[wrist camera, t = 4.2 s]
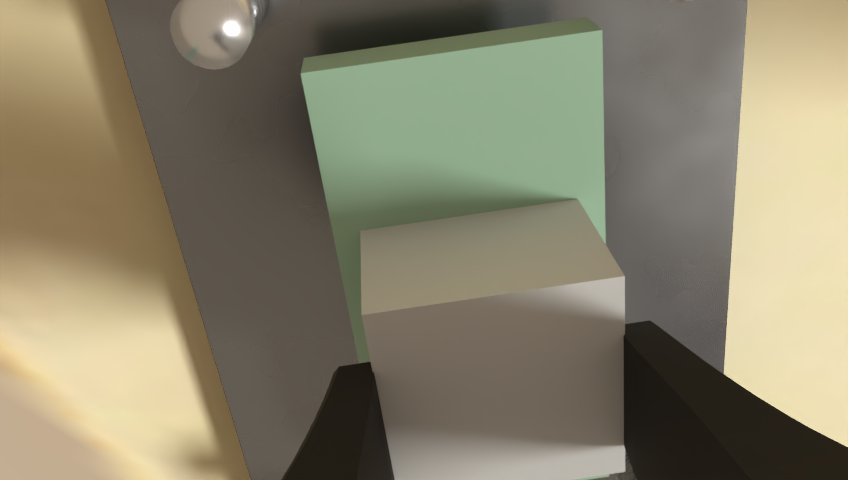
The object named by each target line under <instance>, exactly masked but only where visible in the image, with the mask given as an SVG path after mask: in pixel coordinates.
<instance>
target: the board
mask: <svg viewBox="0 0 848 480" xmlns="http://www.w3.org/2000/svg"><path fill="white" fill-rule="evenodd" d="M300 74H301V79H302V84H303V88H304V93H305V98H306V103H307V108H308V113H309V118H310V123H311V128H312V133H313V138H314V143H315V148H316V153H317V158H318V163H319V168H320V173H321V178H322V183H323V187H324V192H325V197H326V202H327V207H328V212H329V217H330V222H331V227H332V232H333V237H334V242H335V247H336V252H337V257H338V262H339V267H340V272H341V277H342V282H343V286H344V291H345V296H346V301H347V306H348V311H349V316H350V321H351V326H352V331H353V336H354V341H355V346H356V351H357V356H358V361H359V363H365V362H371V367H372V372H374V375H375V380H376V385H377V390H378V395H379V401H380V406H381V411H382V416H383V421H384V427H385V432H386V437H387V442H388V447H389V453H390V458H391V463H392V468H393V474H394V479H395V480H589V479H596V478H602V477H609V474H614V473H621V472H625V447H624V335H625V276H624V274H623V272H622V271H621V269H620V267H619V266H618V264H617V262H616V261H615V259H614V257H613V256H612V254H611V253H610V251H609V249H608V248H607V246H606V230H605V166H604V102H603V38H602V29H601V28H599V27H598V26H597V25H596V24H594V23H593V22H592V21H591V20H589V19H588V18H587V17H584V18H577V19H570V20H563V21H556V22H550V23H543V24H536V25H529V26H522V27H515V28H508V29H501V30H494V31H487V32H480V33H473V34H466V35H459V36H452V37H445V38H438V39H431V40H424V41H417V42H410V43H403V44H396V45H389V46H382V47H375V48H369V49H362V50H355V51H348V52H341V53H334V54H327V55H320V56H313V57H306V58H304V60H303V64H302V69H301V73H300Z"/></svg>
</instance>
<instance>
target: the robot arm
mask: <svg viewBox="0 0 848 480" xmlns="http://www.w3.org/2000/svg"><path fill="white" fill-rule="evenodd" d="M624 447H625V450H626V453H627V455H628V458H629V461H630V464H631V467H632V469H633V472H634V475H635V477H636V479H637V480H848V447H846V446H844V445H842V444H840V443H838V442H836V441H834V440H832V439H830V438H828V437H826V436H824V435H822V434H820V433H818V432H816V431H815V430H813V429H811V428H809V427H807V426H805V425H804V424H802V423H800V422H798V421H796V420H795V419H793V418H791V417H789V416H788V415H786V414H785V413H783V412H781V411H780V410H778V409H776V408H775V407H773V406H771V405H770V404H768V403H767V402H765V401H763V400H762V399H760V398H758V397H757V396H755V395H754V394H752V393H751V392H749V391H748V390H746V389H745V388H743V387H742V386H740V385H739V384H737V383H736V382H734V381H733V380H731V379H730V378H728V377H727V376H725V375H724V374H723V373H721V372H720V371H718V370H717V369H715V368H714V367H713V366H711V365H710V364H708V363H707V362H706V361H704V360H703V359H702V358H700V357H699V356H697V355H696V354H695V353H693V352H692V351H691V350H689V349H688V348H687V347H685V346H684V345H683V344H681V343H680V342H679V341H677V340H676V339H675V338H673V337H672V336H671V335H669V334H668V333H667V332H665V331H664V330H663V329H661V328H660V327H659V326H657V325H656V324H655V323H653V322H652V321H650V320H649V321H642V322H635V323H629V324H625V335H624ZM281 480H395V479H394V474H393V468H392V463H391V458H390V453H389V447H388V442H387V437H386V432H385V427H384V421H383V416H382V411H381V406H380V401H379V395H378V390H377V385H376V380H375V375H374V372H372V367H371V362H365V363H359V364H352V365H345V366H339V367H338V368H337V369H336V371H335V372H334V373H333V376H332V379H331V382H330V384H329V387H328V389H327V392H326V394H325V397H324V399H323V401H322V404H321V406H320V408H319V410H318V412H317V415H316V417H315V419H314V421H313V423H312V425H311V427H310V429H309V431H308V433H307V435H306V437H305V439H304V440H303V442H302V444H301V446H300V448H299V450H298V452H297V454H296V456H295V457H294V459H293V461H292V463H291V464H290V466H289V468H288V469H287V471H286V473H285V474H284V476H283V478H282V479H281Z"/></svg>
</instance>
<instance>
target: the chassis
mask: <svg viewBox="0 0 848 480" xmlns="http://www.w3.org/2000/svg"><path fill="white" fill-rule="evenodd" d="M106 3H107V6H108V10H109V13H110V16H111V20H112V23H113V26H114V29H115V33H116V36H117V39H118V43H119V46H120V49H121V52H122V56H123V59H124V62H125V66H126V69H127V72H128V76H129V79H130V82H131V85H132V89H133V92H134V95H135V99H136V102H137V105H138V108H139V112H140V115H141V118H142V122H143V125H144V128H145V132H146V135H147V138H148V141H149V145H150V148H151V151H152V155H153V158H154V161H155V164H156V168H157V171H158V174H159V178H160V181H161V184H162V188H163V191H164V194H165V197H166V201H167V204H168V207H169V211H170V214H171V217H172V220H173V224H174V227H175V230H176V234H177V237H178V240H179V244H180V247H181V250H182V253H183V257H184V260H185V263H186V267H187V270H188V273H189V276H190V280H191V283H192V286H193V290H194V293H195V296H196V300H197V303H198V306H199V309H200V313H201V316H202V319H203V323H204V326H205V329H206V332H207V336H208V339H209V342H210V346H211V349H212V352H213V356H214V359H215V362H216V365H217V369H218V372H219V375H220V379H221V382H222V385H223V388H224V392H225V395H226V398H227V402H228V405H229V408H230V412H231V415H232V418H233V421H234V425H235V428H236V431H237V435H238V438H239V441H240V444H241V448H242V451H243V454H244V458H245V461H246V464H247V468H248V471H249V474H250V477H251V480H281V479H282V478H283V476H284V474H285V473H286V471H287V469H288V468H289V466H290V464H291V463H292V461H293V459H294V457H295V456H296V454H297V452H298V450H299V448H300V446H301V444H302V442H303V440H304V439H305V437H306V435H307V433H308V431H309V429H310V427H311V425H312V423H313V421H314V419H315V417H316V415H317V412H318V410H319V408H320V406H321V404H322V401H323V399H324V397H325V394H326V392H327V389H328V387H329V384H330V382H331V379H332V376H333V373H334V372H335V371H336V369H337V368H338V367H339V366H345V365H352V364H359V361H358V356H357V351H356V346H355V341H354V336H353V331H352V326H351V321H350V316H349V311H348V306H347V301H346V296H345V291H344V286H343V282H342V277H341V272H340V267H339V262H338V257H337V252H336V247H335V242H334V237H333V232H332V227H331V222H330V217H329V212H328V207H327V202H326V197H325V192H324V187H323V183H322V178H321V173H320V168H319V163H318V158H317V153H316V148H315V143H314V138H313V133H312V128H311V123H310V118H309V113H308V108H307V103H306V98H305V93H304V88H303V84H302V79H301V74H300V73H301V69H302V64H303V60H304V58H306V57H313V56H320V55H327V54H334V53H341V52H348V51H355V50H362V49H369V48H375V47H382V46H389V45H396V44H403V43H410V42H417V41H424V40H431V39H438V38H445V37H452V36H459V35H466V34H473V33H480V32H487V31H494V30H501V29H508V28H515V27H522V26H529V25H536V24H543V23H550V22H556V21H563V20H570V19H577V18H584V17H587V18H588V19H589V20H591V21H592V22H593V23H594V24H596V25H597V26H598V27H599V28H601V29H602V38H603V102H604V166H605V230H606V246H607V248H608V249H609V251H610V253H611V254H612V256H613V257H614V259H615V261H616V262H617V264H618V266H619V267H620V269H621V271H622V272H623V274H624V276H625V324H629V323H635V322H642V321H649V320H650V321H652V322H653V323H655V324H656V325H657V326H659V327H660V328H661V329H663V330H664V331H665V332H667V333H668V334H669V335H671V336H672V337H673V338H675V339H676V340H677V341H679V342H680V343H681V344H683V345H684V346H685V347H687V348H688V349H689V350H691V351H692V352H693V353H695V354H696V355H697V356H699V357H700V358H702V359H703V360H704V361H706V362H707V363H708V364H710V365H711V366H713V367H714V368H715V369H717V370H718V371H720V372H721V373H724V357H725V341H726V326H727V310H728V295H729V279H730V263H731V248H732V232H733V216H734V201H735V185H736V169H737V154H738V138H739V122H740V107H741V91H742V75H743V60H744V44H745V29H746V13H747V0H106ZM589 480H637V479H636V477H635V475H634V472H633V469H632V467H631V464H630V461H629V458H628V455H627V453H626V450H625V472H621V473H614V474H609V477H602V478H596V479H589Z"/></svg>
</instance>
